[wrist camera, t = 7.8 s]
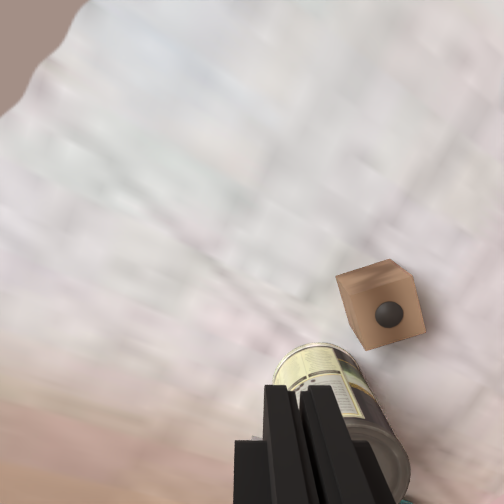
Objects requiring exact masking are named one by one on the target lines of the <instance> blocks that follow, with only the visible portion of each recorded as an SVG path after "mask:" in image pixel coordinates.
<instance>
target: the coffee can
mask: <svg viewBox="0 0 504 504" xmlns="http://www.w3.org/2000/svg"><path fill="white" fill-rule="evenodd" d="M273 385H286V386H287V391H295V394H296V399H297V403H298V408H299V402H300V392H301V391H307V390H308V386H309V385H331V387H332V389H333V392H334V395H335V397H336V400H337V403H338V405H339V408H340V411H341V413H342V416H343V419H344V421H345V424H346V427H347V429H348V432H349V434H350V437H351V440H366V441H368V442H369V444H370V445H371V447H372V449H373V452H374V454H375V456H376V459H377V461H378V463H379V466H380V468H381V470H382V473H383V475H384V477H385V479H386V482H387V484H388V486H389V489H390V491H391V493H392V496H393V498H394V500H395V502H396V504H399V503H400V502H401V500H402V499H403V497H404V495H405V493H406V491H407V489H408V485H409V482H410V474H411V469H410V463H409V459H408V456H407V454H406V452H405V450H404V448H403V446H402V445H401V444H400V442H399V441H398V439H397V438H396V437H395V435H394V433H393V431H392V429H391V427H390V426H389V424H388V422H387V420H386V418H385V416H384V415H383V413H382V411H381V409H380V407H379V405H378V403H377V402H376V400H375V398H374V396H373V394H372V392H371V391H370V389H369V387H368V385H367V383H366V381H365V380H364V378H363V376H362V374H361V372H360V370H359V367H358V365H357V363H356V361H355V360H354V359H353V357H352V356H351V355H350V354H349V353H348V352H346V351H345V350H343V349H342V348H340V347H338V346H335V345H332V344H328V343H311V344H306V345H303V346H300V347H298V348H295V349H294V350H292V351H291V352H290V353H288V354H287V355H286V356H285V357H284V358H283V359H282V360H281V362H280V363H279V365H278V366H277V368H276V371H275V373H274V376H273Z"/></svg>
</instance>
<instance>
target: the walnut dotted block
mask: <svg viewBox="0 0 504 504" xmlns="http://www.w3.org/2000/svg"><path fill="white" fill-rule="evenodd" d="M336 280H337V283H338V287H339V290H340V294H341V297H342V301H343V304H344V307H345V311H346V314H347V318H348V321H349V325H350V326H351V328H352V330H353V331H354V333H355V334H356V336H357V338H358V339H359V341H360V343H361V344H362V346H363V347H364V349H365V351H368V350H371V349H374V348H377V347H381V346H384V345H387V344H390V343H394V342H397V341H400V340H403V339H406V338H410V337H413V336H416V335H419V334H423V333H426V329H425V325H424V321H423V317H422V313H421V308H420V304H419V300H418V296H417V292H416V287H415V283H414V279H413V276H412V275H411V274H410V273H408V272H407V271H406V270H404V269H403V268H401V267H400V266H399V265H397V264H396V263H395V262H393V261H392V260H391V259H387V260H384V261H381V262H378V263H375V264H372V265H368V266H365V267H362V268H359V269H356V270H353V271H350V272H347V273H343V274H340V275H337V276H336Z"/></svg>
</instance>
